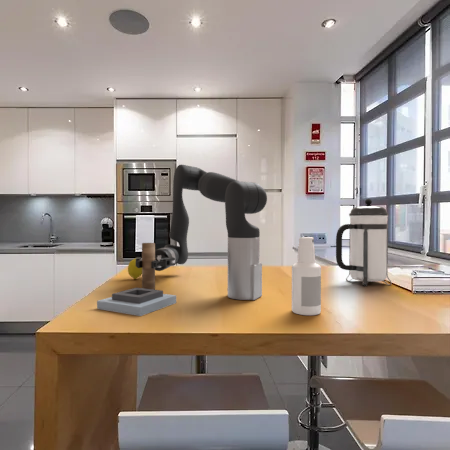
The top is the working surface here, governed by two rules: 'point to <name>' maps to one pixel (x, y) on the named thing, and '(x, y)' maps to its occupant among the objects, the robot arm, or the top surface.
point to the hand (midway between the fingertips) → (145, 264)
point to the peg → (148, 266)
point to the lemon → (134, 269)
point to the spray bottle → (306, 280)
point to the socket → (136, 301)
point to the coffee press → (366, 244)
